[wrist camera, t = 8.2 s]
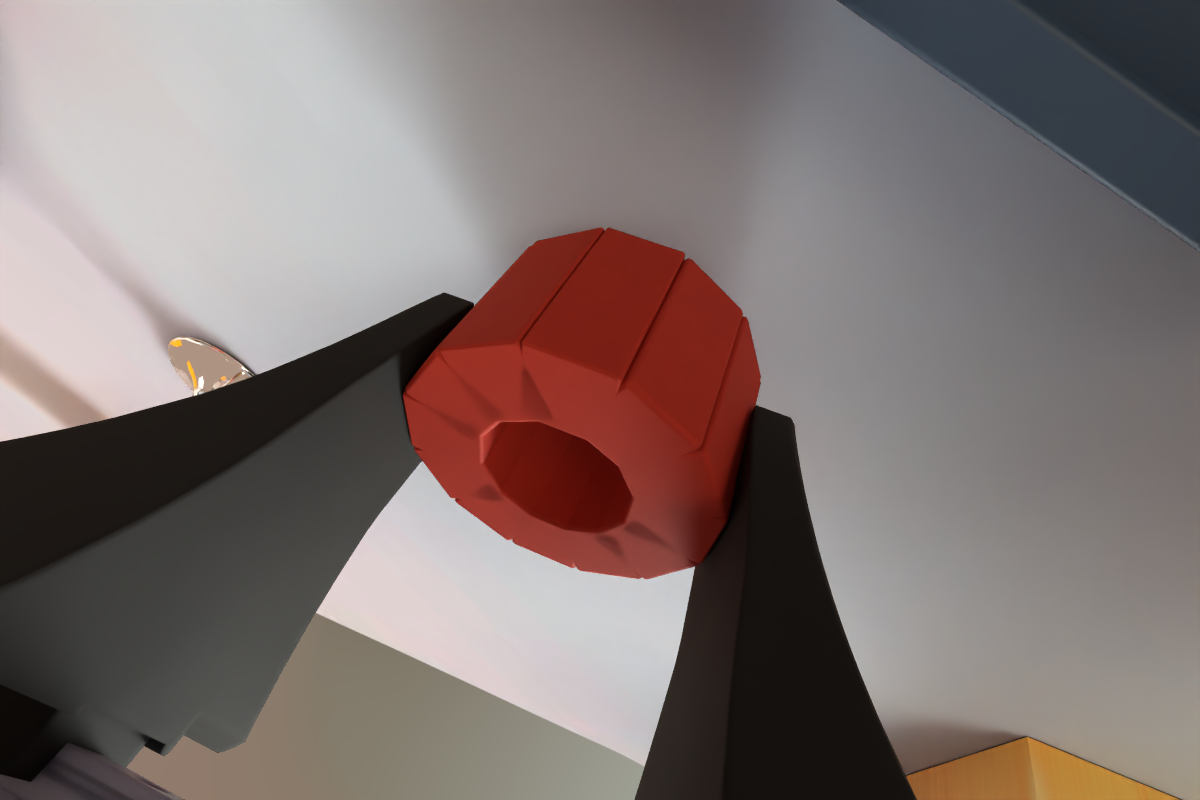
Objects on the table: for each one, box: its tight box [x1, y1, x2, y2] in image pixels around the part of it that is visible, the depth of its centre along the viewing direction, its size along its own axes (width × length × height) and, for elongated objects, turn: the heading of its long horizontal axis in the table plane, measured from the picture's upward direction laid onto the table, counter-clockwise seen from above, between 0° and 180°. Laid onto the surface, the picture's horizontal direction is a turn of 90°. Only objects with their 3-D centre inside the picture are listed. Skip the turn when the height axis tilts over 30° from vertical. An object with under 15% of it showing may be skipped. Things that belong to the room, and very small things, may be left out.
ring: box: [403, 228, 761, 579], centre depth 10 cm, size 5×5×3 cm
